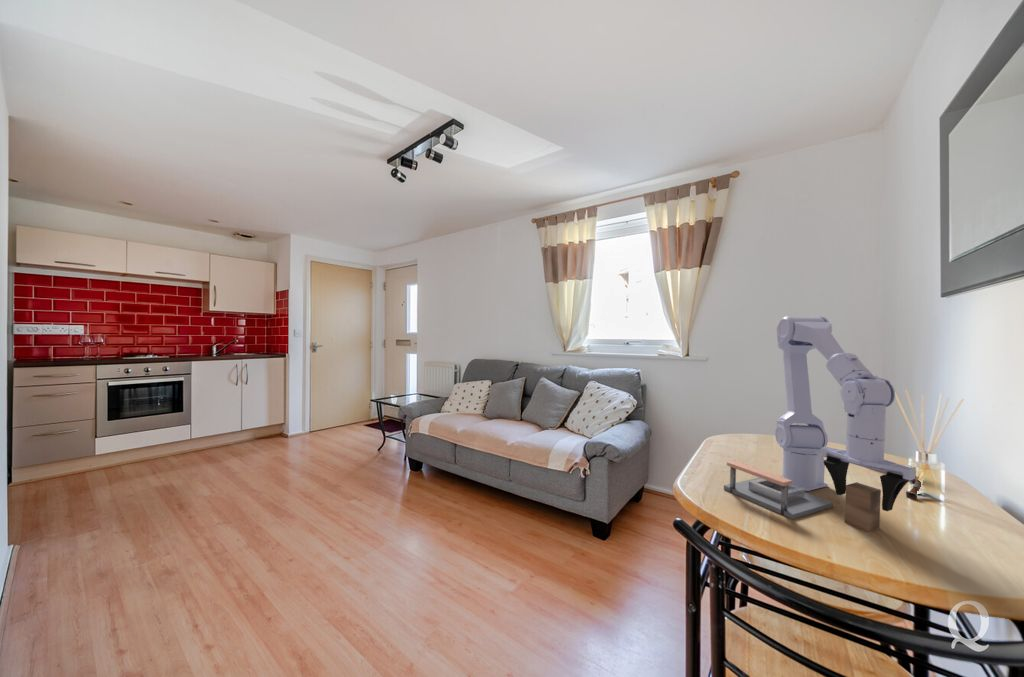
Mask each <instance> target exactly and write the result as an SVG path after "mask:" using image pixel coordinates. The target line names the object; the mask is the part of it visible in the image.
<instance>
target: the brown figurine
mask: <svg viewBox="0 0 1024 677" xmlns="http://www.w3.org/2000/svg"><path fill="white" fill-rule="evenodd" d="M917 478H919V476H918V477H917ZM920 487H921V482H920V481H919V480H917V479H916V481H915V482H914V483H913V485H912V488H911V489H910V490H909V491H908V490H906V491H905V495H906V498H910V499H912V500H913V499H914V500H917V501H918V495H917V491H919V489H920Z"/></svg>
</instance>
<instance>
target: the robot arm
mask: <svg viewBox="0 0 1024 677" xmlns="http://www.w3.org/2000/svg"><path fill="white" fill-rule="evenodd" d="M832 331H833V325H832V323H831V322H830V321H829V319H828V318H827V317H824V316H818V317H817V316H812V317H811V316H807V317H806V316H801V317H800V316H797V317H796V316H794V317H793V316H783V317H782V318H781V319H780V320H779V323H778V324H777V327H776V335H777V336H776V337H777V347H778V349H781V350H782V359H783V360H782V361H783V372H784V384H785V393H786V395H785V397H786V408H787V409H786V410H787V411H786V413H784V414H783V415H781V416H780V417H778V418H776V425H775V426H776V428H775V432H774V436H775V440H776V442H777V444H778V445H779V446H780V448H782V476H780V477H783V478H786V479H789V480H792V484H791V485H794V486H797V487H799V488H802V489H805V492H811V491H814V490H818V489H821V488H825V487H828V486H829V483H826V482H825V471H826V470H825V469H827V471H828V472H829V475H830V477H831V481H832V482H833V485H834V490H835V494H836V495H838V496H842V495H846V485H847V475H848V470H849V466H850V464H852V465H856V466H860V467H863V468H866V469H869V470H873V471H878V472H882V473H885V474H883V475H879V478H880V482H881V488H882V489H881V492H882V496H881V497H882V498H881V499H882V501H881V509H882V511H884V512H890V511H892V510H893V508H894V505H895V502H896V500H897V498H898V496H899V494H900V492H901V491H902V489H903V488H904V487H906V485H907V484H908V482H909V481H912V480H914V479H915V480H916V469H915V468H912V467H909V466H905V465H903V464H899V463H897V462H893V461H890V460H888V459H885V441H886V440H885V439H886V437H885V435H886V416H887V414H886V411H887V407H889V406H892V404H894V401H895V399H896V392H895V389H894V386H893V385H892V383H891V381H890V380H889V379H886V378H883V377H879V376H878V375H874V374H872V372H871V371H870V370H869V369H868V367H866V366H865V365H864V363H863V362H861V360H860V359H859V357H858V356H857V355H856V354H853V353H850V352H845V351H844V349H843V348H842V346H841V345H840V344H839V342H838V341H837V339H836V338H835V336H834V335H833V334H832ZM815 349H816V350H817V351H818V352H819V354H821V355H822V356H823V358H825V359H826V360H827V362H826V363H825V364H826V366H825V367H826V368H827V371H829V372H830V374H831V375H832V377H833V378H834V379H835V381H837V383H838V384H839V386H840V387H841V389H839V390H840V391H839V392H840V397H841V400H842V401H843V410H844V411H845V413H846V415H847V416H846V418H847V419H846V439H845V440H846V443H845V444H846V446H845V450H844V449H838V448H832V447H829V446H828V442H829V439H828V438H829V437H828V434H827V432H826V430H825V427H824V426H825V425H824V422H823V420H822V419H820V418H819V417H817V416H816V415H815V414H813V411H812V398H811V389H810V379H809V367H808V358H807V355H808V353H809V352H810V351H812V350H815ZM802 424H803V425H802ZM804 424H806V425H804ZM825 458H826V459H825Z"/></svg>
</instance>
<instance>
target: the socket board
mask: <svg viewBox="0 0 1024 677" xmlns="http://www.w3.org/2000/svg"><path fill="white" fill-rule="evenodd" d="M726 466H727V467H729V468H730V471H729V483H728V484H724V485H723V490H725V491H727V492H730V493H731V494H734V495H736V496H739V497H741V498H743V499H745V500H748V501H749V502H752V503H754V504H756V505H758V506H759V505H760V506H761V507H764V508H766V509H768V510H770V511H773V512H775V513H777V514H780V515H781V516H784V517H786V518H788V519H791V520H794V519H798V518H801V517H804V516H807V515H808V516H809V515H811V514H814V513H817V512H821V511H824V510H828V509H830V508H833V507H834V502H832V501H830V500H827V499H825V498H822V497H819V496H817V495H814V494H810V493H808V492H806V491H805V489H802V488H799V487H797V486H794V485H791V484H792V480H789V479H786V478H783V477H781V476H780V475H777V474H774V473H772V472H769V471H767V470H763V469H760V468H757V467H755V466H751V465H748V464H745V463H743V462H740V461H737V460H732V461H727V462H726ZM737 470H738V471H741V472H744V473H746V474H749V475H752V476H755V477H756V478H750V479H746V480H742V481H738V482H737V479H736V478H737V477H736V476H737Z"/></svg>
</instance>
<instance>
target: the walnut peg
mask: <svg viewBox="0 0 1024 677" xmlns="http://www.w3.org/2000/svg"><path fill="white" fill-rule="evenodd" d="M881 493H882V489H879V488H877V487H876V488H875V487H873V486H871V485H870V486H869V485H866V484H863V483H859V482H857V481H856V482H852V483H849V484H846V492H845V499H844V500H845V507H844V523H845V524H847V525H848V526H849V525H850V526H852V527H855V528H857V529H858V530H859V529H860V530H862V531H865V532H867V533H871V532H873V531H876V530H878V529H880V524H881V523H880V522H881V519H880V518H881V499H882V498H881V497H882V496H881V495H882V494H881Z"/></svg>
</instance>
